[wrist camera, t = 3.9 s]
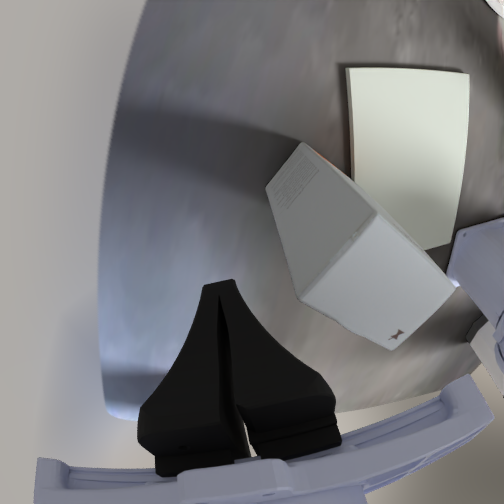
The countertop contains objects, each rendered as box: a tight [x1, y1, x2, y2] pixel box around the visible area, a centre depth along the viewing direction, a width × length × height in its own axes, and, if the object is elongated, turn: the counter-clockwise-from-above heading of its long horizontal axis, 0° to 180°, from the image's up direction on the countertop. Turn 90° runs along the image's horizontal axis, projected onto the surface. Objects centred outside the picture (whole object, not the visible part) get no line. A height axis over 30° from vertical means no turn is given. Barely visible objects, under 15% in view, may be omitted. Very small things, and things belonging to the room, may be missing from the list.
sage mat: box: [345, 67, 469, 250], centre depth 22 cm, size 11×16×1 cm
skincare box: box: [265, 142, 456, 351], centre depth 16 cm, size 6×4×12 cm
